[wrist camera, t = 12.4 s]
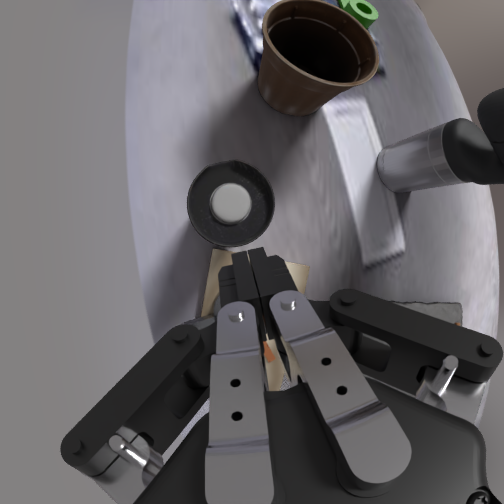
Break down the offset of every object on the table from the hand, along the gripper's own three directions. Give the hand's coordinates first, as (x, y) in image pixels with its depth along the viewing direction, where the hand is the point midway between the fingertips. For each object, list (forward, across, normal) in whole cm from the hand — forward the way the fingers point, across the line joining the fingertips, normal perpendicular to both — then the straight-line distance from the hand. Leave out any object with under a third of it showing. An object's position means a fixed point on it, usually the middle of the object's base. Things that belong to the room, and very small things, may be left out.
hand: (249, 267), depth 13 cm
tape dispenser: (+51, -36, -30) cm, 70 cm away
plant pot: (+39, -14, -9) cm, 43 cm away
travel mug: (+30, +2, +9) cm, 31 cm away
